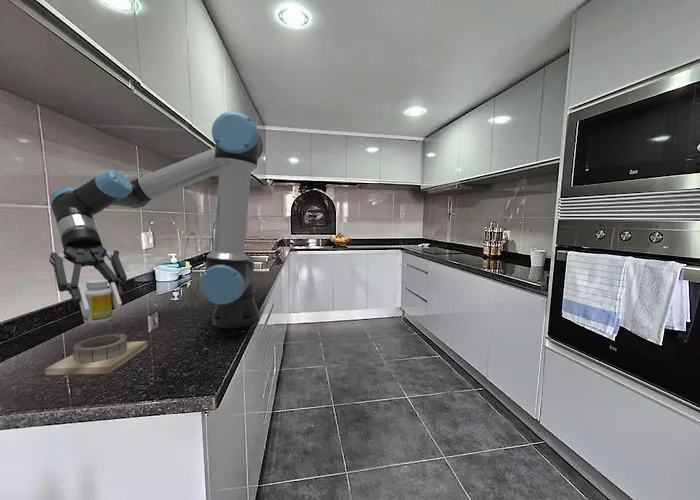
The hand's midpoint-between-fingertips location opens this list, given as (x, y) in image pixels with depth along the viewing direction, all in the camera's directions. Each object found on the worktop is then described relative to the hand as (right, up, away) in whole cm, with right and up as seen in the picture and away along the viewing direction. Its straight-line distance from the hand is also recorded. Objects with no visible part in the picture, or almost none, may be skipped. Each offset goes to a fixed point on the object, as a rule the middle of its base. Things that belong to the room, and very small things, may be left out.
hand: (103, 309), depth 71 cm
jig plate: (-3, -13, +3) cm, 14 cm away
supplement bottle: (-3, -3, +2) cm, 5 cm away
